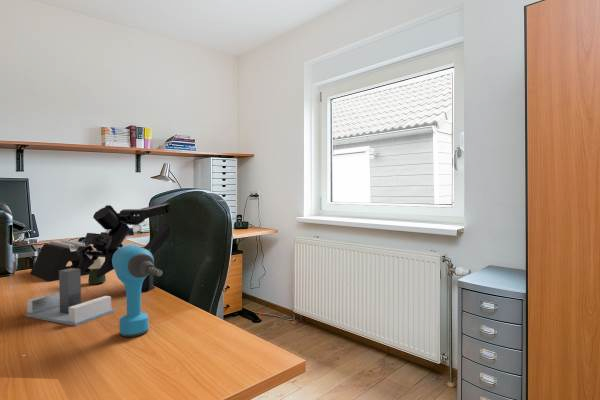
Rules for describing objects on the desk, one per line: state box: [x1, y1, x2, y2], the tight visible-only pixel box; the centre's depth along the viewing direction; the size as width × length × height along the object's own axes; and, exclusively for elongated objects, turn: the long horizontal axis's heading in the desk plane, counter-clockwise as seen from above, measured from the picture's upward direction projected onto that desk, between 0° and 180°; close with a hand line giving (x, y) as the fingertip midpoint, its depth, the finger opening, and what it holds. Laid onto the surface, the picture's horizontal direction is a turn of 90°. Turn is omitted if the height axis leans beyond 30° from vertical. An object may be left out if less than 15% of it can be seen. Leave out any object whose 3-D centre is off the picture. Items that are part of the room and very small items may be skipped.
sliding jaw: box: [26, 291, 60, 314], centre depth 113 cm, size 2×12×4 cm, turn 159°
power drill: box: [112, 245, 163, 338], centre depth 91 cm, size 28×9×23 cm, turn 43°
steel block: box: [58, 268, 82, 314], centre depth 109 cm, size 4×4×13 cm
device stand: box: [29, 239, 94, 283], centre depth 165 cm, size 22×22×15 cm
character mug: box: [87, 257, 107, 285], centre depth 146 cm, size 11×7×13 cm, turn 44°
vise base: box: [25, 295, 116, 327], centre depth 110 cm, size 22×13×5 cm, turn 69°
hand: (86, 276), depth 114 cm, fingers open, 9 cm apart
